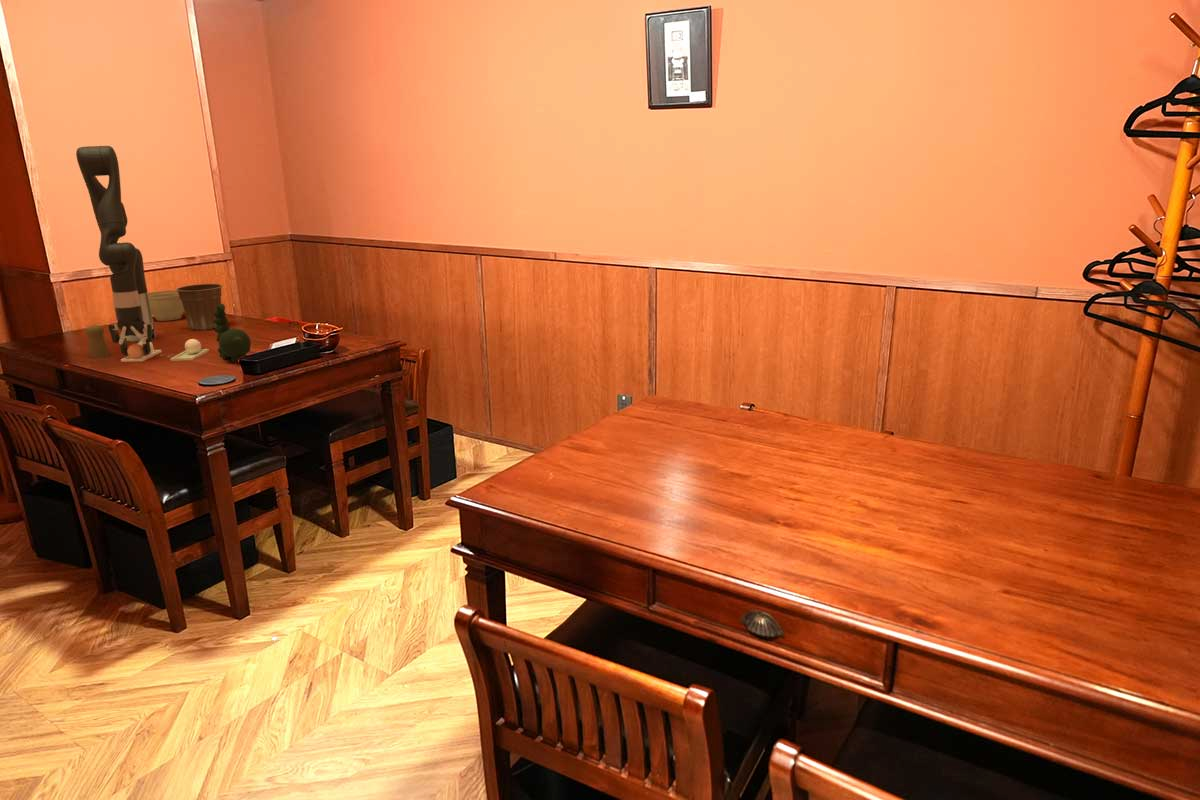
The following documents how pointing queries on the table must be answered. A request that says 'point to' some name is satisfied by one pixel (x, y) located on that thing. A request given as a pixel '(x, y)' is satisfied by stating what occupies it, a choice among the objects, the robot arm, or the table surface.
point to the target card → (167, 356)
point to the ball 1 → (135, 351)
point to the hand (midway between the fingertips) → (136, 354)
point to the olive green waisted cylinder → (96, 342)
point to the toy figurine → (230, 337)
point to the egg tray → (153, 353)
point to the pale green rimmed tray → (188, 355)
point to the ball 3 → (192, 346)
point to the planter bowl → (166, 305)
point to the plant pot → (200, 304)
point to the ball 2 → (150, 345)
